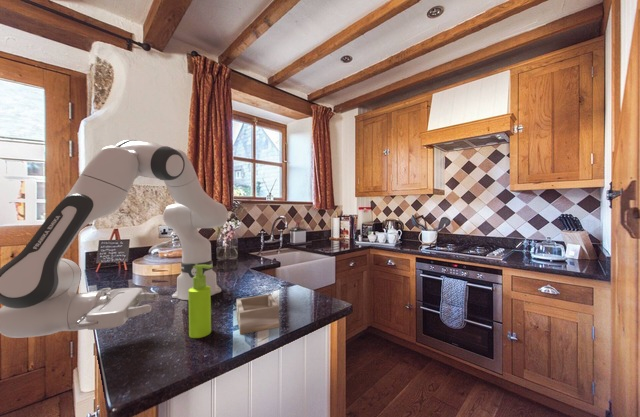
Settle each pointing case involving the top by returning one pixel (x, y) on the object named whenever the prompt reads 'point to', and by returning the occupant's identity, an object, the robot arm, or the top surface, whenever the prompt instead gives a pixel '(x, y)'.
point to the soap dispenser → (199, 304)
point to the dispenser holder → (257, 313)
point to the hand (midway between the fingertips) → (154, 301)
